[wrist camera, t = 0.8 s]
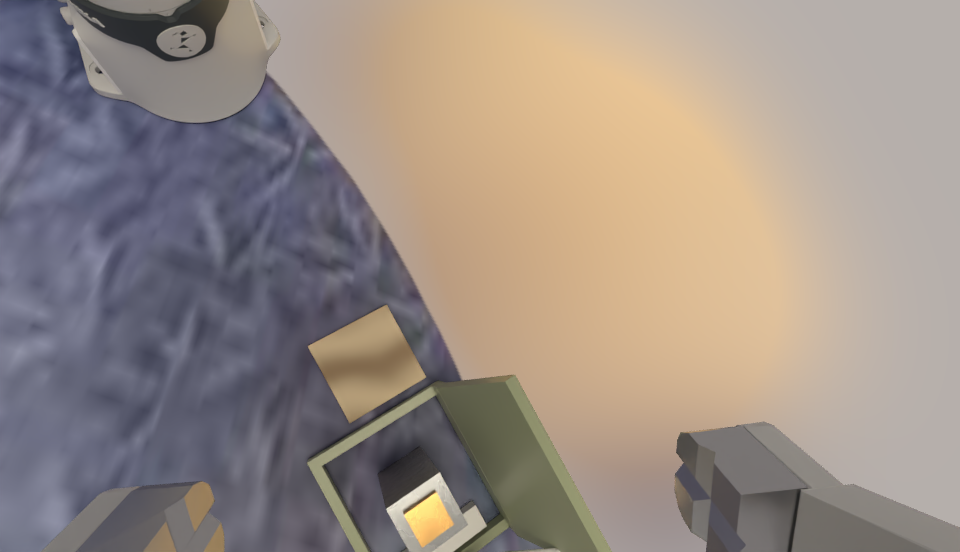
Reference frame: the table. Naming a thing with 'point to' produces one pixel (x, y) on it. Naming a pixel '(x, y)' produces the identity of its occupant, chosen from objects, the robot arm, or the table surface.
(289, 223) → the table surface
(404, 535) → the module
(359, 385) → the pad
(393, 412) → the case
